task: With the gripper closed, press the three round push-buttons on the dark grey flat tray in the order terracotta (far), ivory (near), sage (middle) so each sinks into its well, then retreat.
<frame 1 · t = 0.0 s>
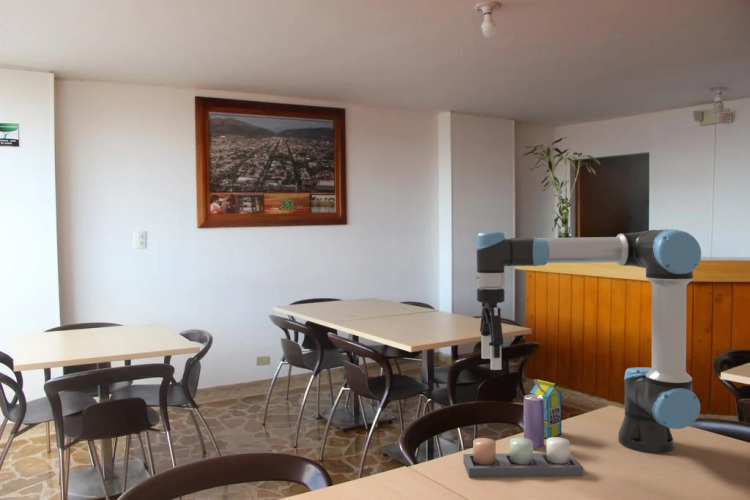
hand: (491, 363, 163), 28 cm above the table, fingers open, 13 cm apart
terracotta button: (484, 450, 159), point 5 cm above the table, slide at 0.0 cm
carton: (544, 435, 186), on the table
sage button: (521, 450, 159), point 5 cm above the table, slide at 0.0 cm
ivory button: (558, 450, 159), point 5 cm above the table, slide at 0.0 cm
beverage can: (533, 446, 176), on the table
dark grey flat tray: (521, 469, 159), on the table
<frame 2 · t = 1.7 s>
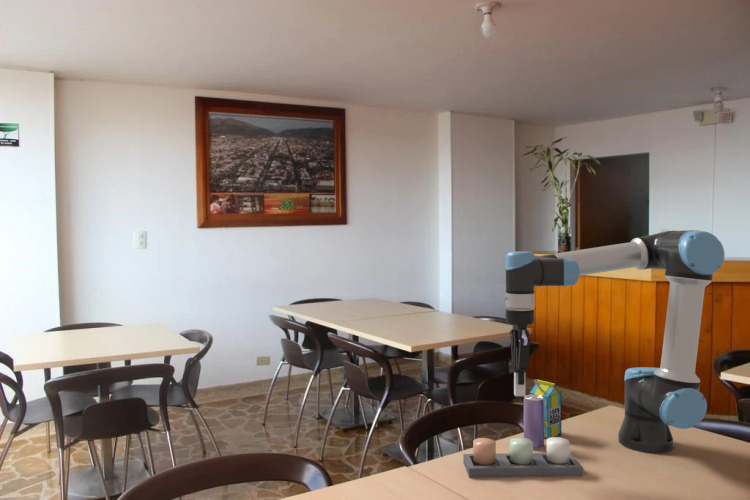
hand: (519, 395, 159), 20 cm above the table, fingers closed
nothing on the table moved.
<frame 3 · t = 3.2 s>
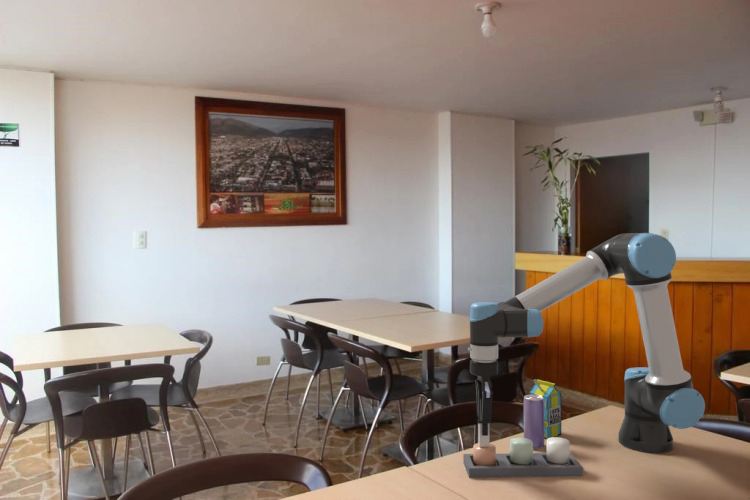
hand: (483, 445, 159), 7 cm above the table, fingers closed
terracotta button: (484, 455, 159), point 4 cm above the table, slide at 1.3 cm, touching gripper
everything else where it was.
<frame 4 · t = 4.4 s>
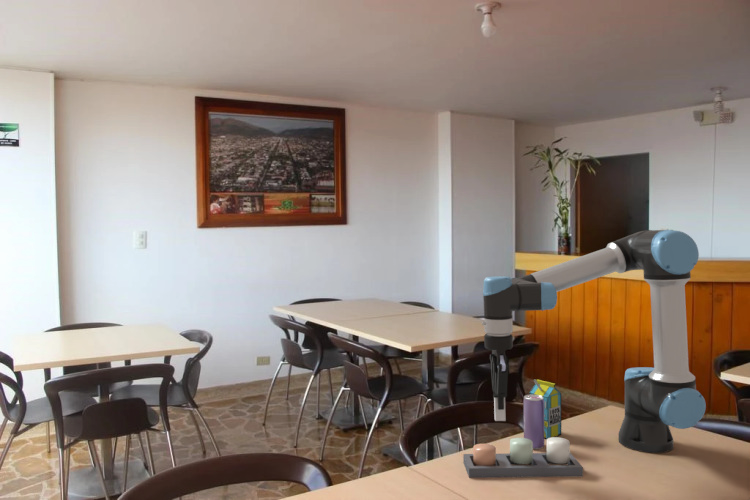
hand: (500, 419, 159), 14 cm above the table, fingers closed
terracotta button: (484, 456, 159), point 4 cm above the table, slide at 1.6 cm
everything else where it was.
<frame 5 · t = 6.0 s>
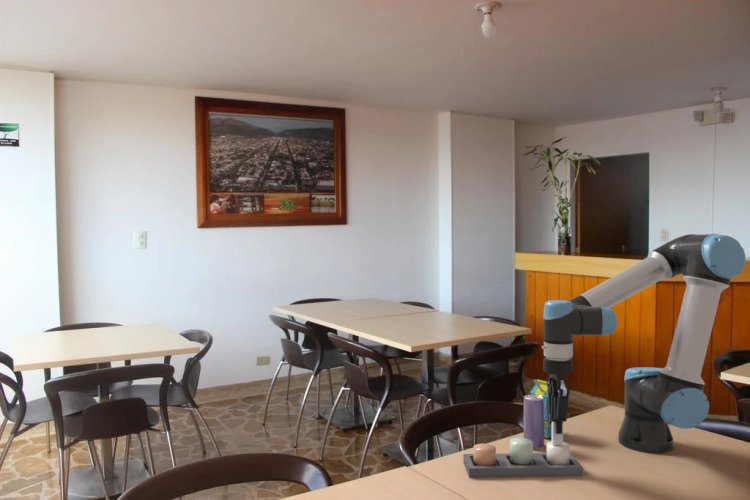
hand: (557, 444, 159), 7 cm above the table, fingers closed
ivory button: (558, 454, 159), point 4 cm above the table, slide at 1.1 cm, touching gripper
everything else where it was.
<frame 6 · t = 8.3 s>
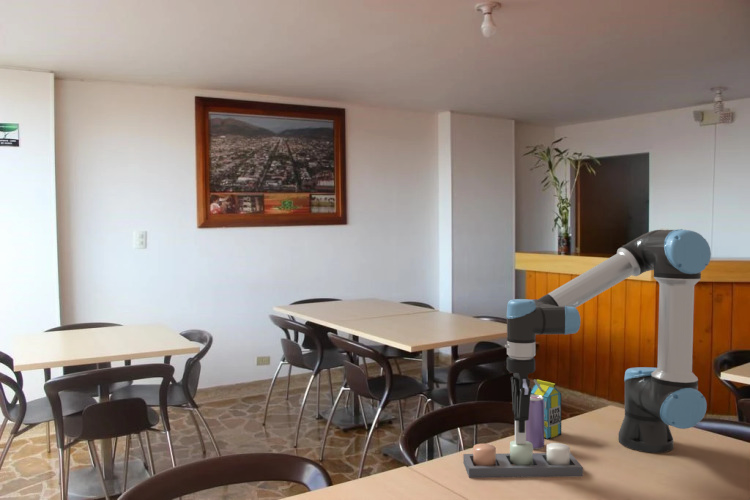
hand: (520, 442, 159), 7 cm above the table, fingers closed
sage button: (521, 452, 159), point 5 cm above the table, slide at 0.7 cm, touching gripper
ivory button: (558, 456, 159), point 4 cm above the table, slide at 1.6 cm
everything else where it was.
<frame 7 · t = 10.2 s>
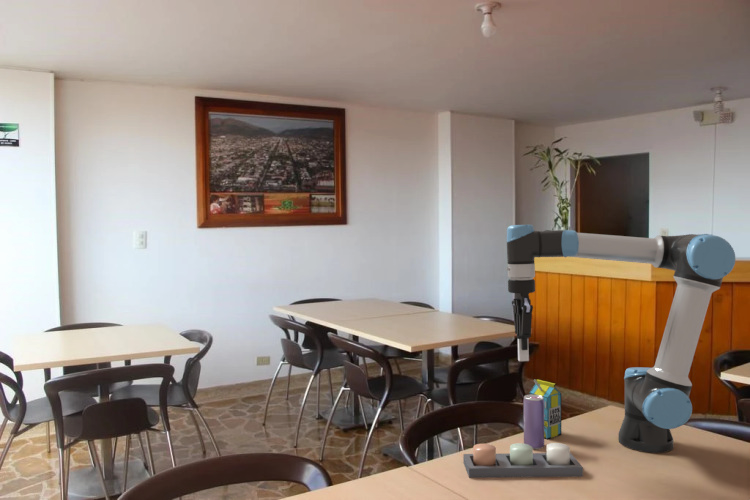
hand: (523, 360, 168), 28 cm above the table, fingers closed
sage button: (521, 456, 159), point 4 cm above the table, slide at 1.6 cm
everything else where it was.
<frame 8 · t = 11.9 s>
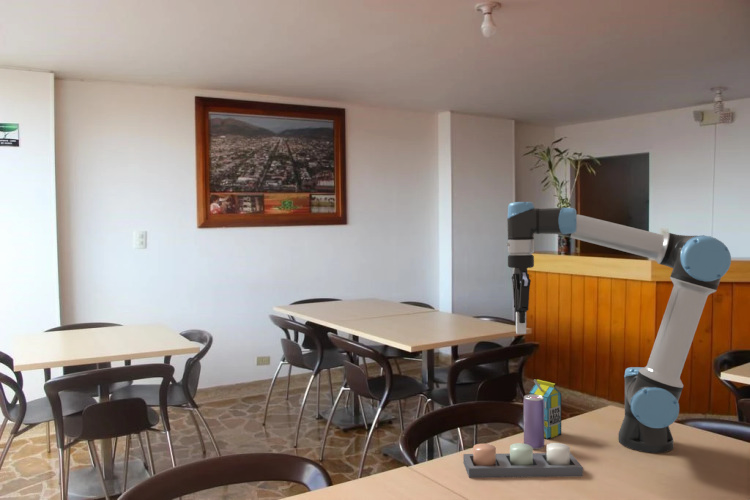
hand: (521, 333, 174), 34 cm above the table, fingers closed
nothing on the table moved.
at the end: terracotta button slide at 1.6 cm; ivory button slide at 1.6 cm; sage button slide at 1.6 cm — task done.
